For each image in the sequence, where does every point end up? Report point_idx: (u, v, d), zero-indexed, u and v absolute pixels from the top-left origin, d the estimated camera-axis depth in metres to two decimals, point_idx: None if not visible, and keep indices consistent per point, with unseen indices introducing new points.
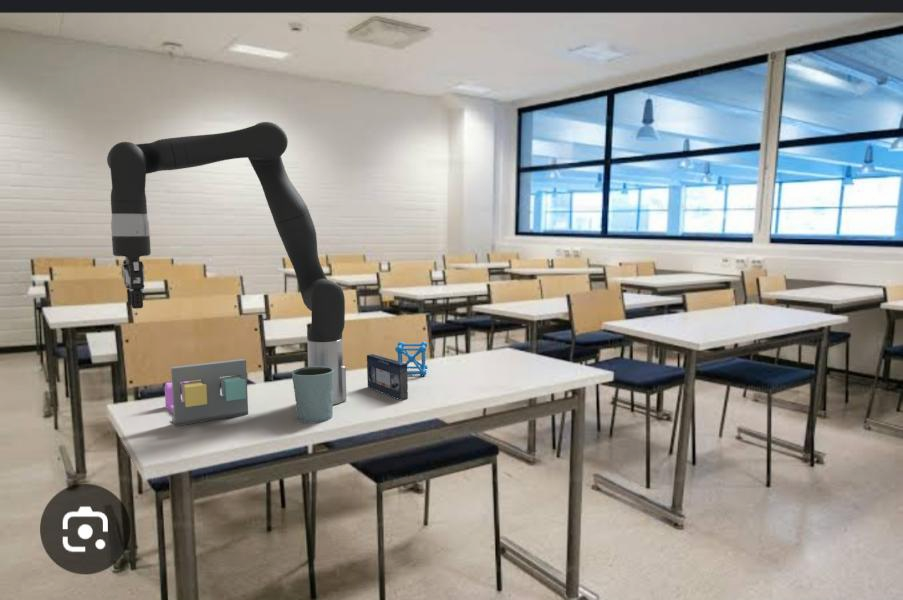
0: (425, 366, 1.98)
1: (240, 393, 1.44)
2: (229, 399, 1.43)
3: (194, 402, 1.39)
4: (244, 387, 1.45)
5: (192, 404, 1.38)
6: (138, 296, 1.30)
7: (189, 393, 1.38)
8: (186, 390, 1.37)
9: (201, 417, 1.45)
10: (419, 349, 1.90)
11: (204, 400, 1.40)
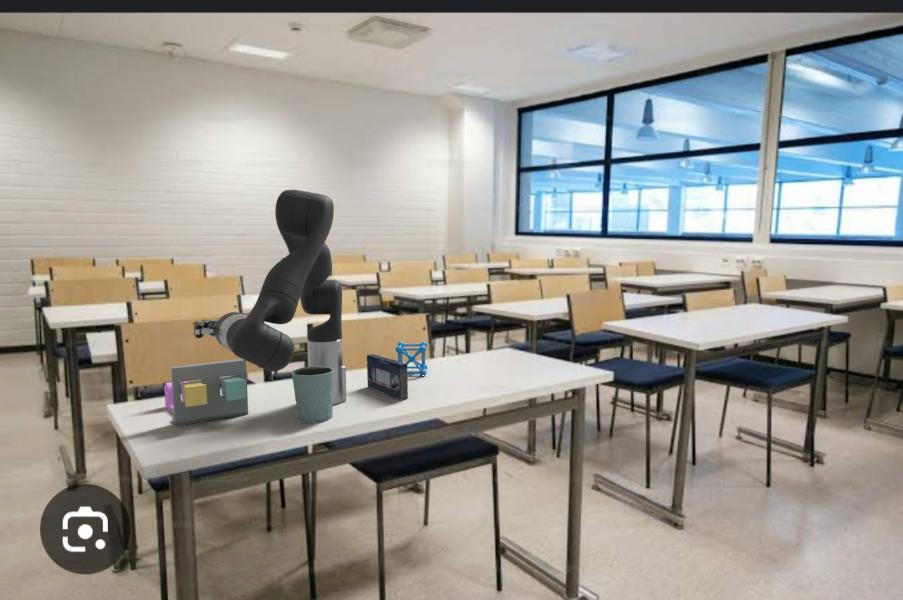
0: (425, 366, 1.98)
1: (240, 393, 1.44)
2: (229, 399, 1.43)
3: (194, 402, 1.39)
4: (244, 387, 1.45)
5: (192, 404, 1.38)
6: None
7: (189, 393, 1.38)
8: (186, 390, 1.37)
9: (201, 417, 1.45)
10: (419, 349, 1.90)
11: (204, 400, 1.40)
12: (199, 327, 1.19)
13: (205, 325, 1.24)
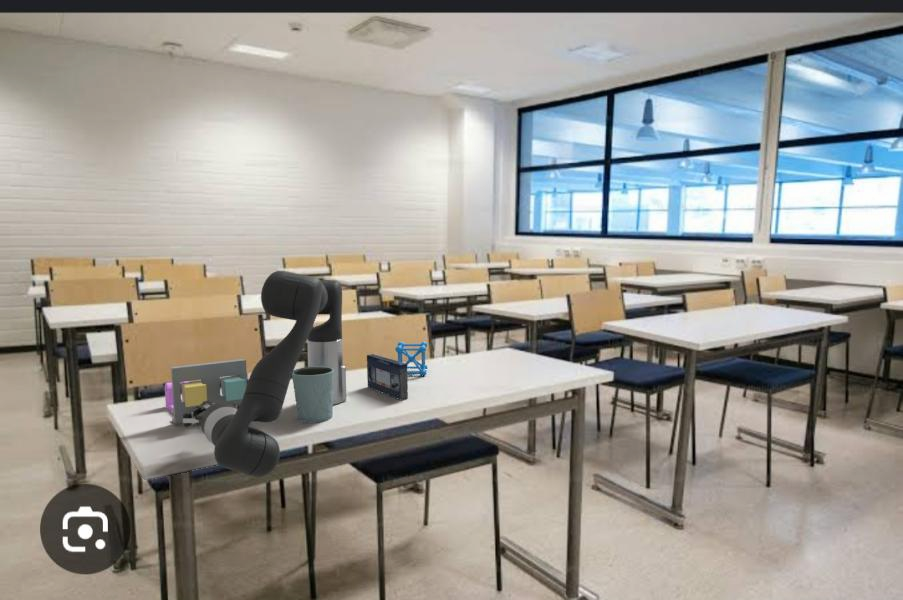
0: (425, 366, 1.98)
1: (240, 393, 1.44)
2: (229, 399, 1.43)
3: (194, 402, 1.39)
4: (244, 387, 1.45)
5: (192, 404, 1.38)
6: None
7: (189, 393, 1.38)
8: (186, 390, 1.37)
9: None
10: (419, 349, 1.90)
11: (204, 400, 1.40)
12: (185, 416, 1.18)
13: None
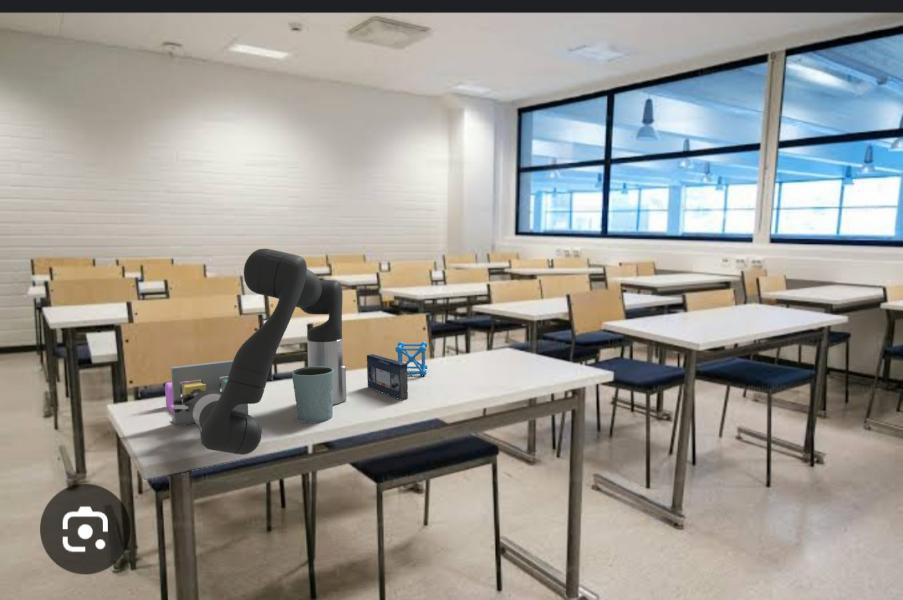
0: (425, 366, 1.98)
1: None
2: None
3: None
4: None
5: None
6: None
7: (189, 393, 1.38)
8: (186, 390, 1.38)
9: None
10: (419, 349, 1.90)
11: None
12: (175, 403, 1.28)
13: None
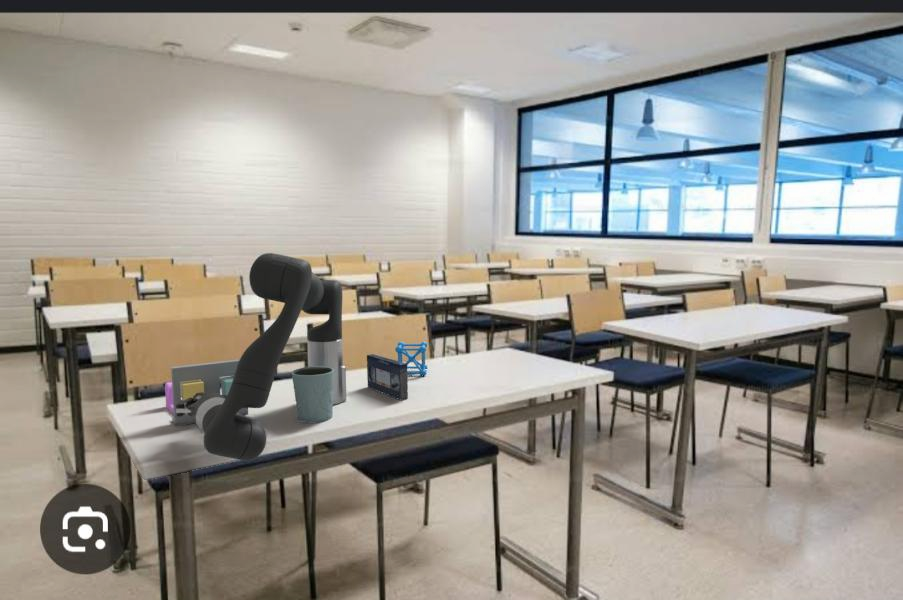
0: (425, 366, 1.98)
1: None
2: None
3: None
4: None
5: None
6: None
7: (187, 391, 1.40)
8: (184, 387, 1.40)
9: None
10: (419, 349, 1.90)
11: None
12: (178, 406, 1.25)
13: None
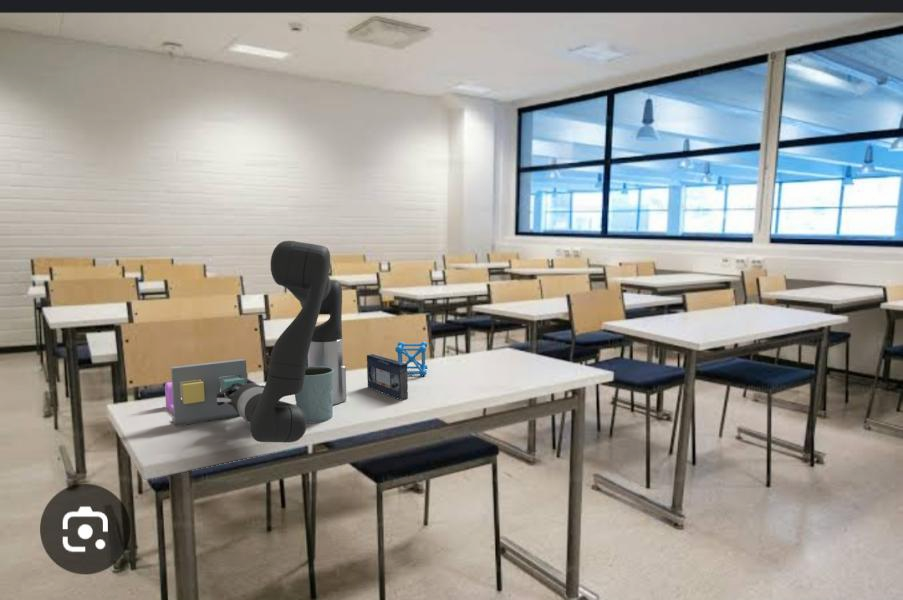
0: (425, 366, 1.98)
1: None
2: None
3: (192, 399, 1.41)
4: None
5: (190, 401, 1.41)
6: None
7: (187, 391, 1.40)
8: (184, 387, 1.40)
9: (201, 417, 1.45)
10: (419, 349, 1.90)
11: (201, 397, 1.42)
12: (218, 396, 1.33)
13: None
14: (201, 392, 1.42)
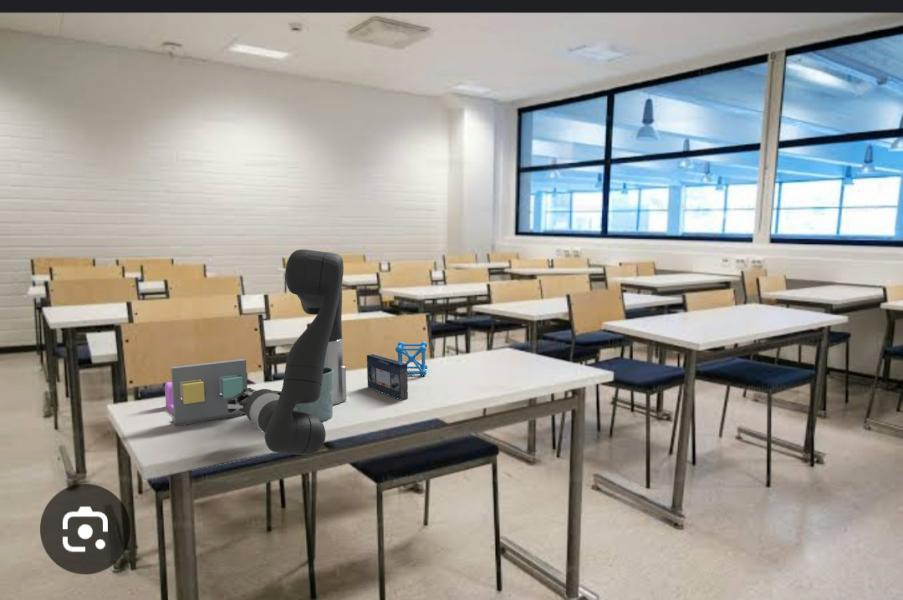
0: (425, 366, 1.98)
1: (237, 390, 1.47)
2: (226, 396, 1.45)
3: (192, 399, 1.41)
4: (241, 384, 1.47)
5: (190, 401, 1.41)
6: None
7: (187, 391, 1.40)
8: (184, 387, 1.40)
9: (201, 417, 1.45)
10: (419, 349, 1.90)
11: (201, 397, 1.42)
12: (229, 402, 1.25)
13: None
14: (201, 392, 1.42)
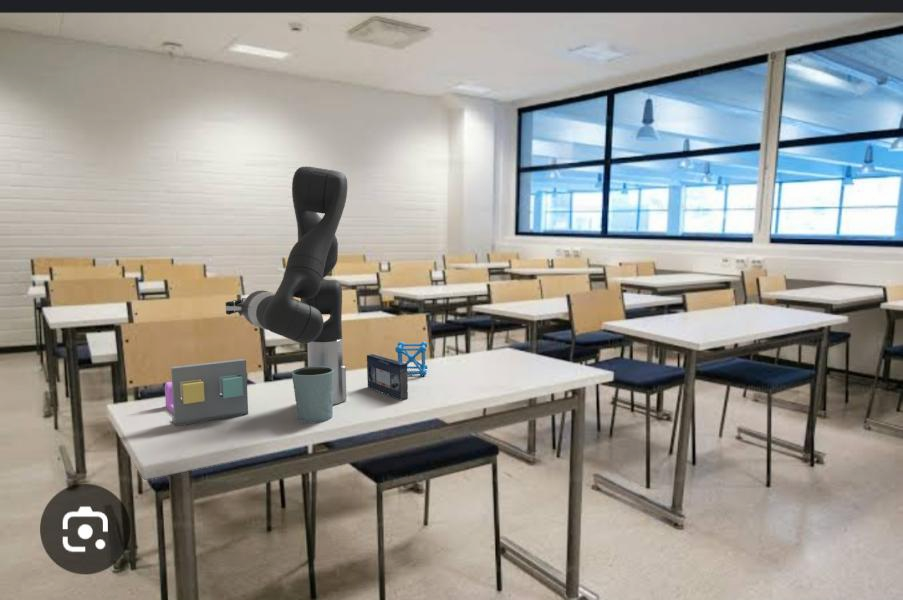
0: (425, 366, 1.98)
1: (237, 390, 1.47)
2: (226, 396, 1.45)
3: (192, 399, 1.41)
4: (241, 384, 1.47)
5: (190, 401, 1.41)
6: None
7: (187, 391, 1.40)
8: (184, 387, 1.40)
9: (201, 417, 1.45)
10: (419, 349, 1.90)
11: (201, 397, 1.42)
12: (228, 304, 1.25)
13: None
14: (201, 392, 1.42)
